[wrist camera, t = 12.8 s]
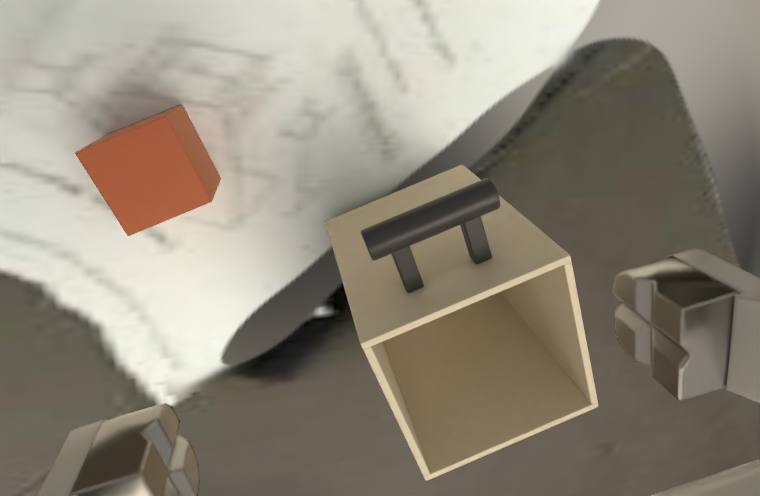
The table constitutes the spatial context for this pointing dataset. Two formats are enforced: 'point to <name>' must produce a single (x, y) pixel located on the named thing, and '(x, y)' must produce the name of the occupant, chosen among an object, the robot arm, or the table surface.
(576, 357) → the bin
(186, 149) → the block
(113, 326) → the table surface
